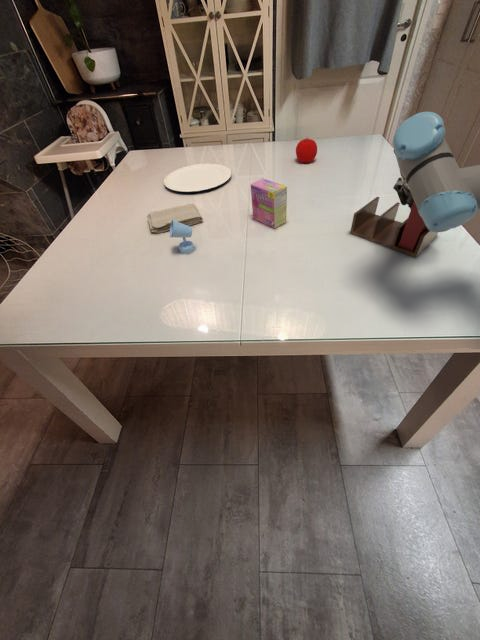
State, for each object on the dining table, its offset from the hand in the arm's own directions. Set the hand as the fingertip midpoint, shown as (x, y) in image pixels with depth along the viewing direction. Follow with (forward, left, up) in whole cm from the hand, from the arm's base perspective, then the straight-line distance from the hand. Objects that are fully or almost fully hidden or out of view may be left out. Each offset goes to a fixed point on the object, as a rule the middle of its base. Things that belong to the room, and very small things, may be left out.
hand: (427, 216), depth 81 cm
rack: (+1, +7, -6) cm, 10 cm away
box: (+9, +44, -6) cm, 46 cm away
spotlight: (-9, +68, -6) cm, 69 cm away
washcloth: (+8, +77, -6) cm, 78 cm away
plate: (+43, +78, -6) cm, 89 cm away
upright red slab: (-3, +2, -5) cm, 6 cm away
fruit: (+61, +33, -6) cm, 70 cm away
